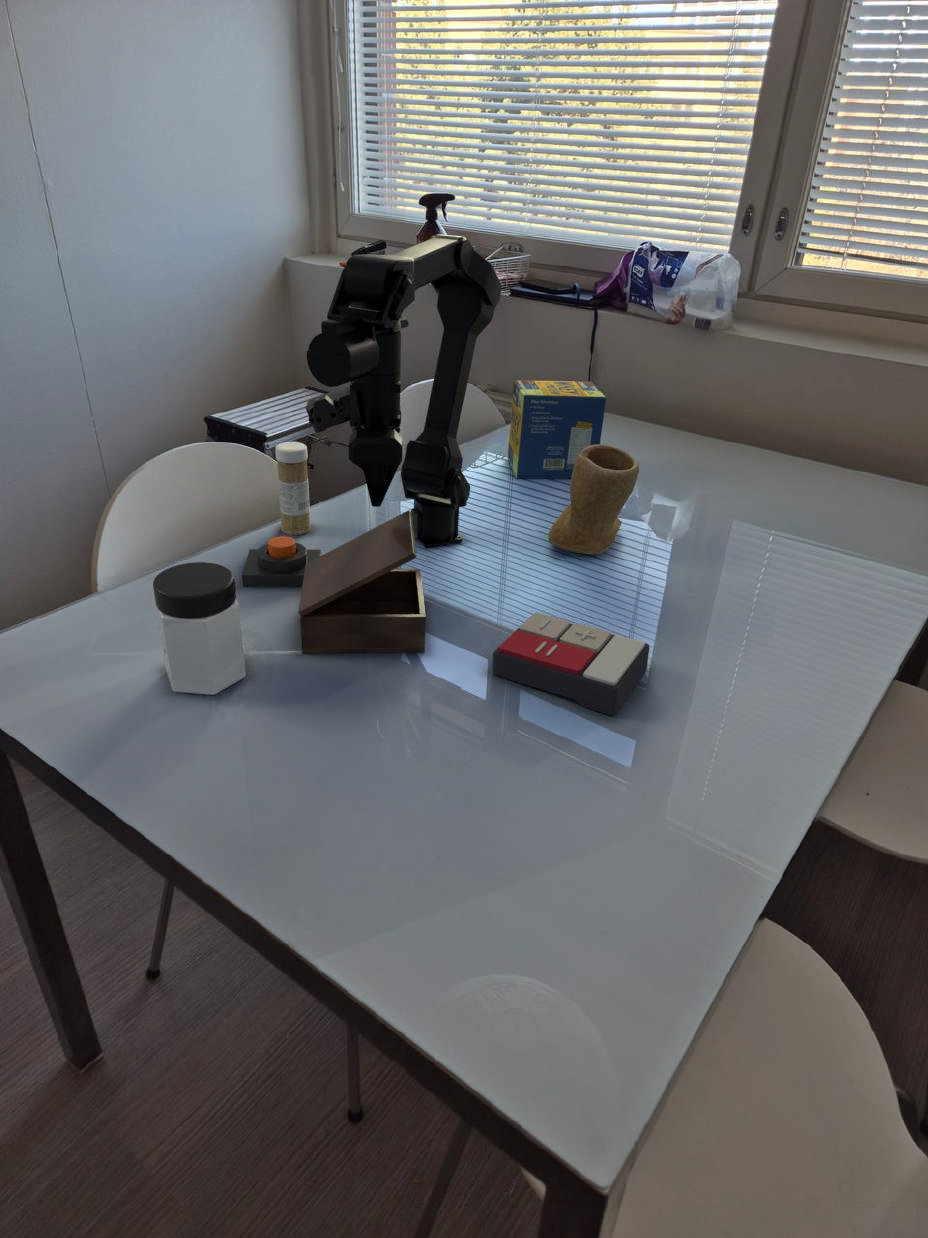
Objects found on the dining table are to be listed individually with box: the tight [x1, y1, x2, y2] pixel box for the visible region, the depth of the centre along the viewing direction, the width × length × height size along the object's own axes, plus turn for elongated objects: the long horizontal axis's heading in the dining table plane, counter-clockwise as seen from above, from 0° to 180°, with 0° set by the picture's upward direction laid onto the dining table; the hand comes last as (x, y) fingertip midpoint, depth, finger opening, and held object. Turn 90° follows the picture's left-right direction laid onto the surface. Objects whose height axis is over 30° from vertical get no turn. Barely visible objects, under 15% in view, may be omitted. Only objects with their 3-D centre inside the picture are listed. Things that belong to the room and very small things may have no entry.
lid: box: [297, 509, 417, 617], centre depth 97 cm, size 15×12×1 cm
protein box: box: [507, 379, 607, 480], centre depth 152 cm, size 10×15×16 cm
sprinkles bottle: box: [274, 441, 312, 536], centre depth 122 cm, size 5×5×14 cm
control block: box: [241, 542, 323, 588], centre depth 112 cm, size 10×8×4 cm
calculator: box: [492, 612, 651, 716], centre depth 94 cm, size 11×4×15 cm
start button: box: [267, 535, 296, 558], centre depth 111 cm, size 4×4×2 cm
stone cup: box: [547, 443, 640, 555], centre depth 124 cm, size 15×12×15 cm
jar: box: [152, 561, 247, 696], centre depth 88 cm, size 9×8×12 cm
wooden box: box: [299, 568, 427, 655], centre depth 101 cm, size 14×12×5 cm
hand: (376, 492), depth 106 cm, fingers open, 9 cm apart
